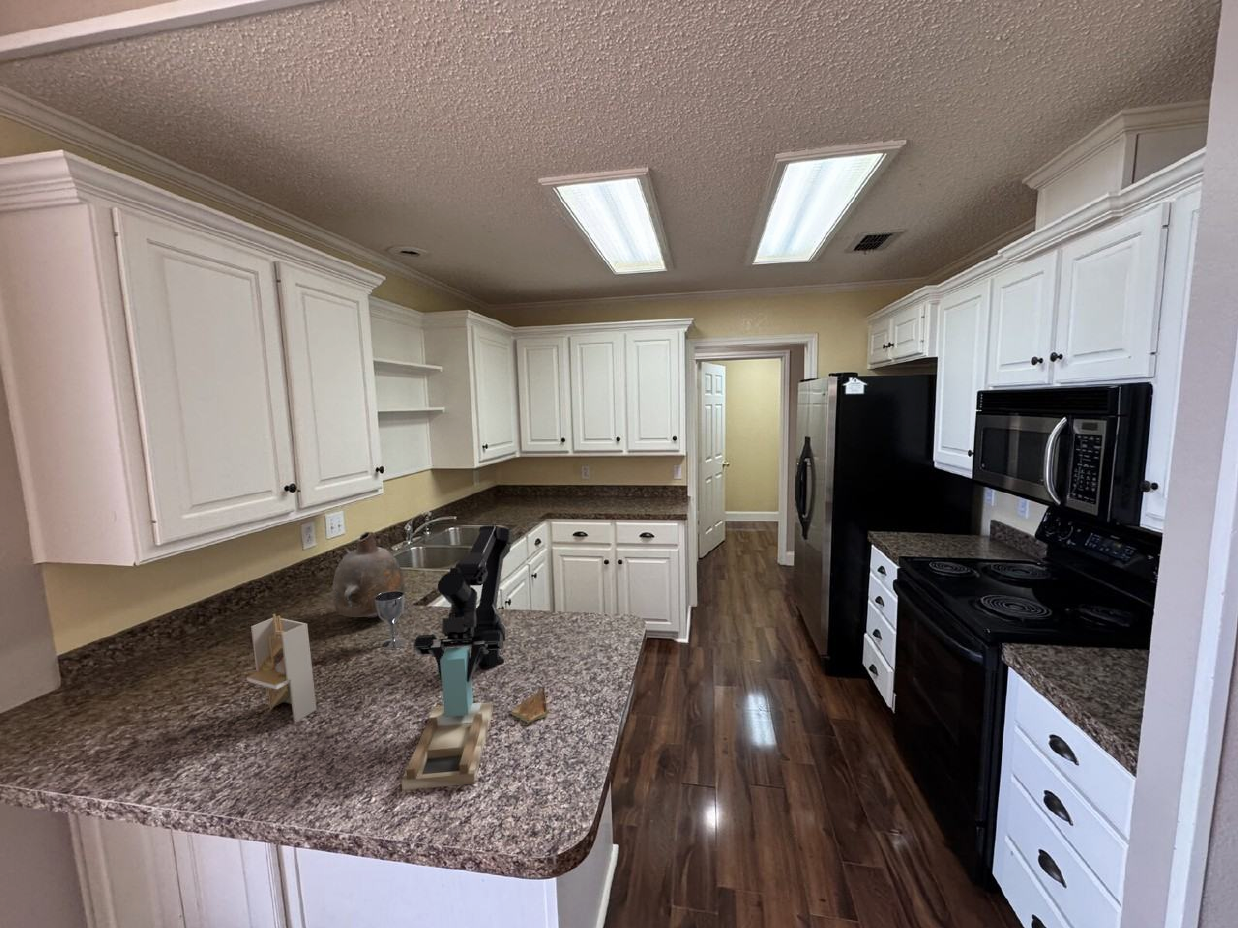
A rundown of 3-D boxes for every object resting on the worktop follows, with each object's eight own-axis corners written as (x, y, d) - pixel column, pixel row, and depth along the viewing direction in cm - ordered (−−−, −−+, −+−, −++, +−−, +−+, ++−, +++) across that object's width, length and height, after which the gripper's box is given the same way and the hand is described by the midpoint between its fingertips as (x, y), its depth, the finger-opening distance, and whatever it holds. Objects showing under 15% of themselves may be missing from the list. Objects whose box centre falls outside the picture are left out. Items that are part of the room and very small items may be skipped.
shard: (544, 692, 120) (544, 686, 120) (567, 703, 115) (567, 696, 115) (510, 716, 111) (509, 708, 111) (533, 728, 107) (533, 721, 107)
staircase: (283, 700, 119) (271, 601, 116) (316, 710, 115) (305, 608, 112) (249, 720, 112) (236, 615, 109) (283, 731, 108) (270, 622, 104)
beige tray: (435, 714, 112) (433, 698, 111) (492, 709, 113) (491, 693, 112) (402, 790, 90) (400, 770, 89) (474, 783, 91) (472, 763, 91)
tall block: (450, 702, 110) (446, 648, 108) (473, 700, 110) (469, 646, 109) (444, 716, 105) (440, 660, 103) (468, 714, 105) (464, 658, 104)
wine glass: (407, 646, 144) (403, 598, 142) (377, 652, 141) (373, 602, 139) (408, 635, 151) (404, 588, 149) (380, 640, 148) (375, 592, 146)
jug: (341, 609, 171) (332, 526, 167) (407, 598, 179) (400, 519, 176) (330, 640, 149) (320, 545, 145) (406, 626, 157) (398, 535, 153)
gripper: (412, 601, 107) (399, 676, 98) (498, 596, 109) (493, 669, 100) (425, 619, 116) (414, 689, 107) (505, 614, 118) (501, 682, 109)
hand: (455, 682), depth 105 cm, fingers closed on tall block, 5 cm apart
